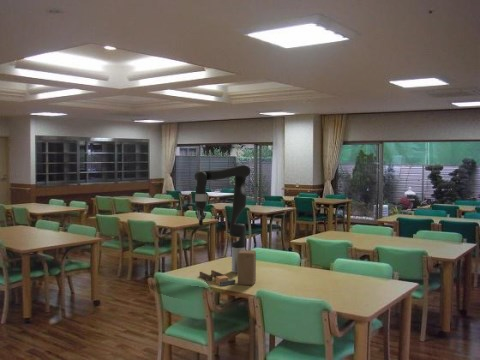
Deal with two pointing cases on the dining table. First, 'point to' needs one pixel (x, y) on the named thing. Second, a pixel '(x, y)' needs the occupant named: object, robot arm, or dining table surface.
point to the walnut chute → (209, 275)
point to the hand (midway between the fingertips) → (200, 225)
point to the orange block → (221, 278)
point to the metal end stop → (227, 282)
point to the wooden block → (246, 267)
